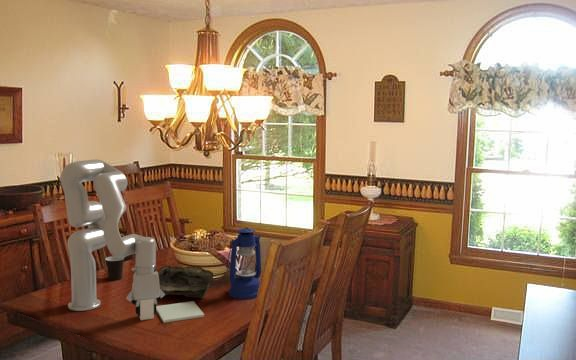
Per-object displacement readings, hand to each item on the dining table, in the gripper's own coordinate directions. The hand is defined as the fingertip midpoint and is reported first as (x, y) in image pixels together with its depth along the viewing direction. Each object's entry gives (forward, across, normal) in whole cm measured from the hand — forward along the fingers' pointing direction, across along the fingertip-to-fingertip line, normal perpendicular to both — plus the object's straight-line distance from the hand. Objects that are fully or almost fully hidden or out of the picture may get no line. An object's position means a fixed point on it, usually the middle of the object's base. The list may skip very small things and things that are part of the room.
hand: (146, 313), depth 207 cm
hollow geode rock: (+2, +19, +17) cm, 26 cm away
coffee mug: (+2, -4, +56) cm, 56 cm away
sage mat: (+1, +13, 0) cm, 13 cm away
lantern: (+2, +46, +12) cm, 48 cm away
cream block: (+1, 0, 0) cm, 1 cm away
